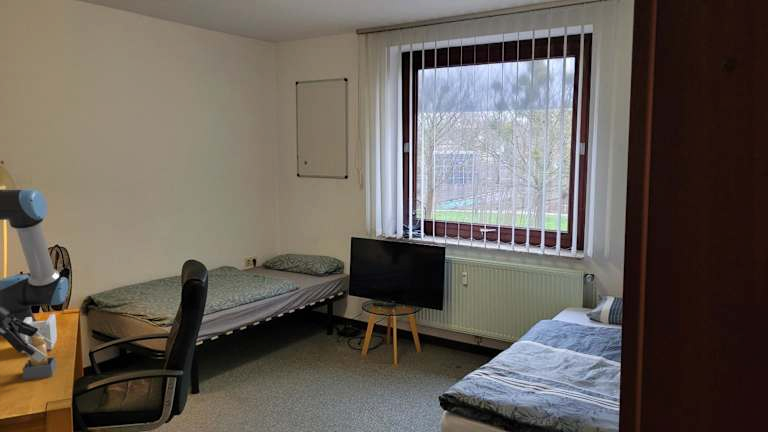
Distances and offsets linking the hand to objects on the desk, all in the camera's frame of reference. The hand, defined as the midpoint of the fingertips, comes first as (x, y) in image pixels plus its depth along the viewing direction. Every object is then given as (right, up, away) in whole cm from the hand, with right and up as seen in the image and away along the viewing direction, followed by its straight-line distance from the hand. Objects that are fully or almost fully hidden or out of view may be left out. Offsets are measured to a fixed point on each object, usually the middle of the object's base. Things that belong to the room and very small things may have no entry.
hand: (46, 352), depth 198 cm
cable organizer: (-18, -5, +26) cm, 32 cm away
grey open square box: (-2, -7, 0) cm, 8 cm away
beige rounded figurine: (-2, -6, 0) cm, 6 cm away
